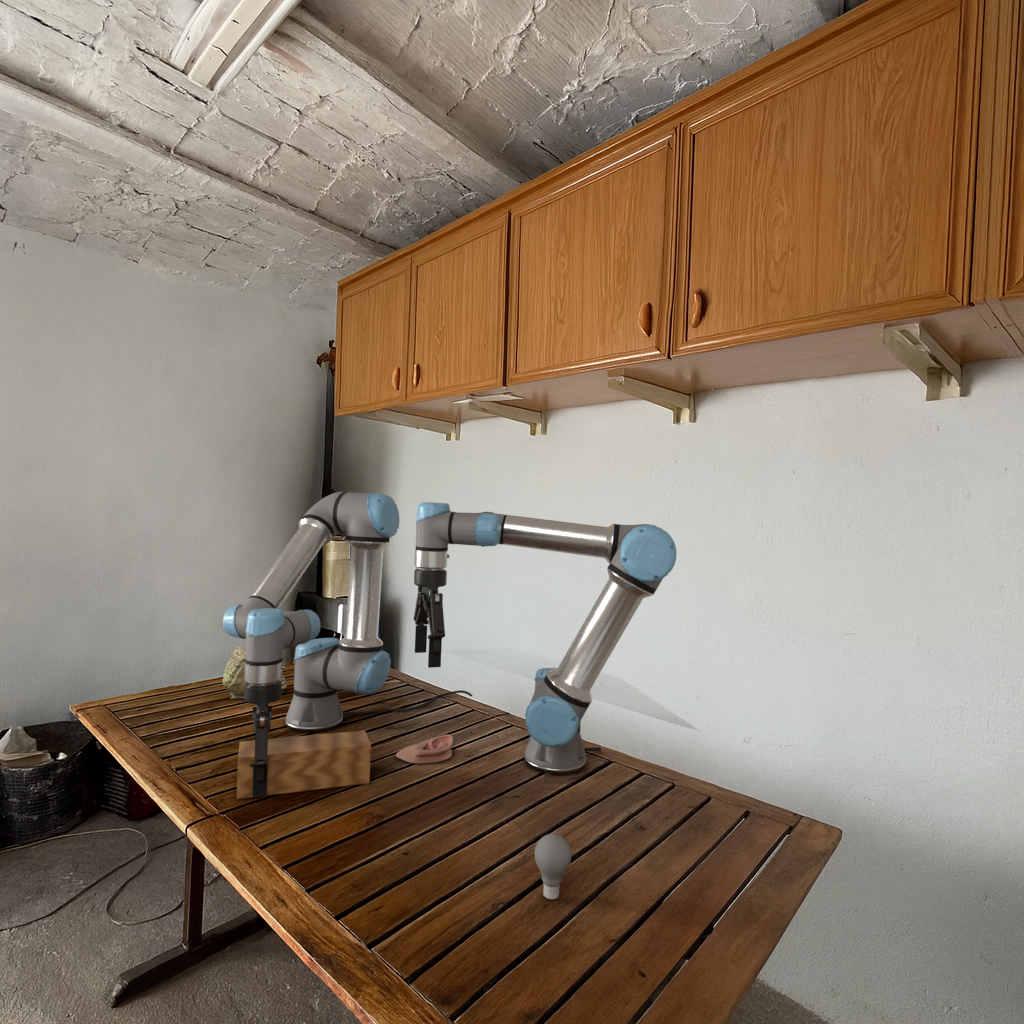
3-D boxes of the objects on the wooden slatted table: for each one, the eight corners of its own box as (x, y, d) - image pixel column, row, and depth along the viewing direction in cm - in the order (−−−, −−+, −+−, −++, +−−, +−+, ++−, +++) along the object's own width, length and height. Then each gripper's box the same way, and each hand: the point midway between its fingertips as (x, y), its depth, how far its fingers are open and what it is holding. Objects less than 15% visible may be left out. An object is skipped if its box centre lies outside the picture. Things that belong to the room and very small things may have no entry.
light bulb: (530, 885, 106) (533, 826, 106) (566, 885, 106) (568, 826, 106) (534, 909, 100) (537, 846, 100) (572, 908, 100) (575, 846, 100)
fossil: (218, 695, 195) (220, 647, 195) (278, 685, 208) (279, 640, 207) (228, 703, 189) (230, 653, 188) (289, 692, 201) (290, 645, 201)
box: (236, 799, 131) (238, 757, 131) (238, 780, 140) (239, 741, 139) (369, 783, 141) (371, 744, 141) (363, 766, 149) (365, 730, 149)
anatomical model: (391, 744, 153) (408, 727, 164) (390, 760, 153) (407, 743, 164) (443, 750, 150) (457, 733, 162) (443, 767, 150) (457, 749, 162)
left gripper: (283, 695, 128) (279, 805, 128) (280, 667, 148) (277, 762, 148) (242, 698, 125) (238, 811, 125) (245, 669, 145) (242, 766, 146)
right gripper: (461, 575, 137) (457, 672, 137) (433, 562, 160) (429, 646, 161) (427, 575, 134) (423, 674, 135) (403, 562, 158) (400, 647, 158)
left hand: (259, 784), depth 137 cm, fingers closed on box, 9 cm apart
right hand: (427, 659), depth 148 cm, fingers open, 13 cm apart
